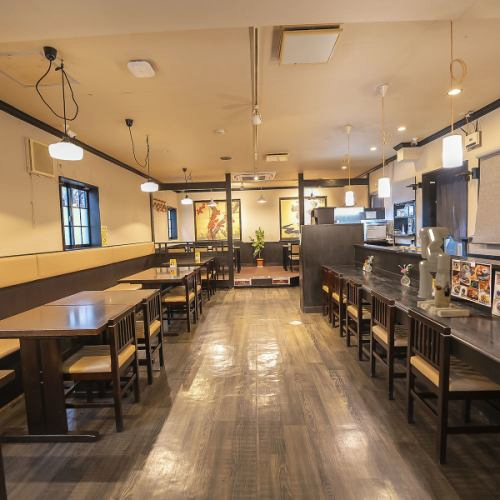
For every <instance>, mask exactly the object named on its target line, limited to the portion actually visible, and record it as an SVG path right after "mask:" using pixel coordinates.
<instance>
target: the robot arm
mask: <svg viewBox="0 0 500 500" xmlns="http://www.w3.org/2000/svg"><path fill="white" fill-rule="evenodd" d="M418 235H419V239H420V241H421V246H420V247H421V249H420V252H421V254H420V255H421V257H422V259H423V260H421V261H419V263H418V269H419V290H418V291H417V293H418V294H417V295H416V297H418V298H420V299H425V300H427V299H428V300H429V299H430V300H432V299H435V295H433V283H434V289H435V288H436V285H439V284H440V285H441V288H445V290H446V291H445V297H449V296H450V297H451V295H450V293H451V290H452V288H453V285H452V284H451V275H450V271H451V255H450V254H449V253H448V252H444V251H443V249H442V248H441V246H442V245H443V244H444V240H443V239H447V238H449V237H450V230H449V229H448V227H445V226H443V227H442V226H426V227H421V228H420V229H419V232H418ZM425 259H426V260H425ZM431 273H435V278H434V277H433V275H432V274H431ZM433 278H434V281H433ZM446 286H447V287H446ZM447 288H448V289H447Z"/></svg>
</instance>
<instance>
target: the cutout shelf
mask: <svg viewBox="0 0 500 500" xmlns="http://www.w3.org/2000/svg"><path fill="white" fill-rule="evenodd" d="M416 306H417V307H418V308H420V309H423V310H425V311H426V312H429V313H431V314H433V315H435V316H438V317H440V318H447V317H449V318H450V317H452V318H453V317H469V316H470V310H469V309H467V308H464V307H461V306H459V305H456V304H453V303H451V302H450V305H449V308H437V307H434V300H424V301H422V300H420V301H419V300H418V301H417V305H416Z"/></svg>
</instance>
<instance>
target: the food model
mask: <svg viewBox="0 0 500 500" xmlns="http://www.w3.org/2000/svg"><path fill="white" fill-rule="evenodd" d="M446 287H447V286H446ZM447 289H448V288H447ZM445 291H446V290H445V288H441V285H440V284H439V285H436V288H435V287H434V298H433V299H434V300H433V301H434V307H437V308H449V305H450V303H451V292H450V296H449V297H445Z"/></svg>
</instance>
